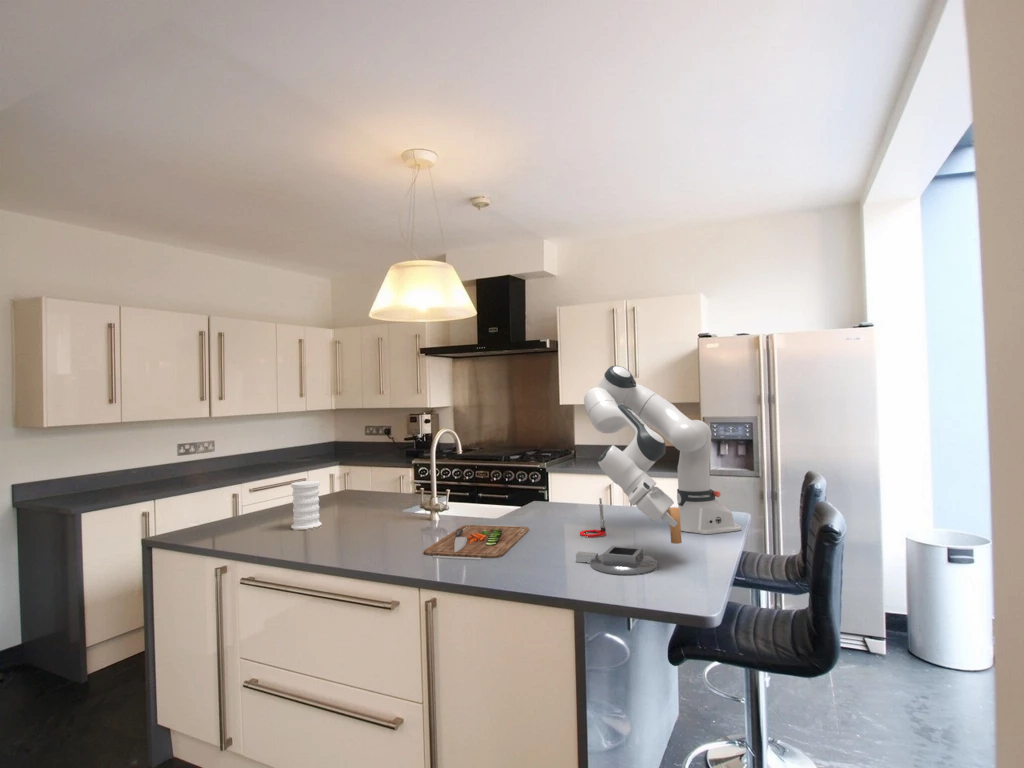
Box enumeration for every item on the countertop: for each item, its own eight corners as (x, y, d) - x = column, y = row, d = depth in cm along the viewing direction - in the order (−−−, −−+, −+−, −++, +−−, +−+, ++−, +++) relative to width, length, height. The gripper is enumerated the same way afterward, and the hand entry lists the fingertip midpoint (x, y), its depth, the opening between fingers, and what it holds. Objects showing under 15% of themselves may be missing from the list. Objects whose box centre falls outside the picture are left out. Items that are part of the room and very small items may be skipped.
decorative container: (285, 529, 231) (284, 483, 231) (310, 523, 241) (309, 479, 241) (303, 532, 224) (301, 485, 225) (327, 526, 234) (326, 481, 234)
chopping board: (497, 562, 176) (497, 552, 176) (417, 558, 183) (416, 548, 183) (532, 529, 220) (532, 520, 220) (466, 526, 227) (465, 519, 227)
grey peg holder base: (587, 552, 182) (587, 539, 182) (663, 559, 172) (662, 545, 172) (566, 569, 165) (566, 555, 165) (649, 578, 155) (649, 563, 155)
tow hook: (580, 539, 201) (607, 537, 201) (577, 502, 202) (603, 500, 201) (578, 533, 210) (604, 531, 209) (575, 497, 210) (601, 496, 210)
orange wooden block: (679, 540, 172) (677, 507, 172) (683, 543, 169) (681, 508, 169) (669, 541, 172) (667, 507, 172) (673, 544, 169) (671, 509, 169)
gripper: (642, 491, 185) (675, 523, 181) (627, 502, 166) (663, 538, 162) (655, 477, 183) (689, 509, 179) (641, 487, 165) (679, 523, 160)
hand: (677, 523), depth 170 cm, fingers closed on orange wooden block, 3 cm apart
